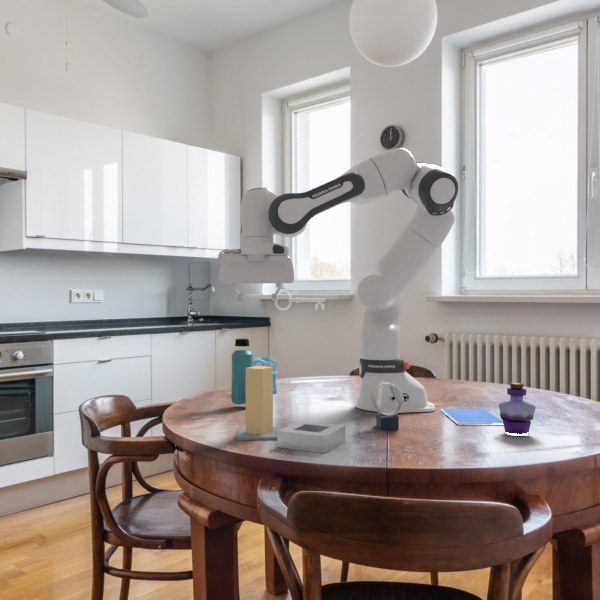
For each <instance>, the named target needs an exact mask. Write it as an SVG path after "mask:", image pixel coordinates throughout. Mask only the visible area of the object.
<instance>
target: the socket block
mask: <svg viewBox="0 0 600 600" xmlns="http://www.w3.org/2000/svg"><path fill="white" fill-rule="evenodd" d="M276 441H277V443H276V444H277V445H276V446H277V448H281V449H287V448H288V450H295V449H296V450H295V451H302V450H303V451H304V452H311V453H317V454H318V453H319V454H326V453H328V452H330V451H331V450H333V449H335V448H336V447H338V446H340V445H342V444H343V443H345V442H346V425H342V424H334V423H333V424H331V423H330V424H329V423H325V422H323V423H322V422H315V421H314V422H313V421H305V420H304V421H303V420H300V421H297V422H294V423H293V424H290V425H288V426H285V427H283V428H281V429H280V430H278V431H277V440H276Z"/></svg>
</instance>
